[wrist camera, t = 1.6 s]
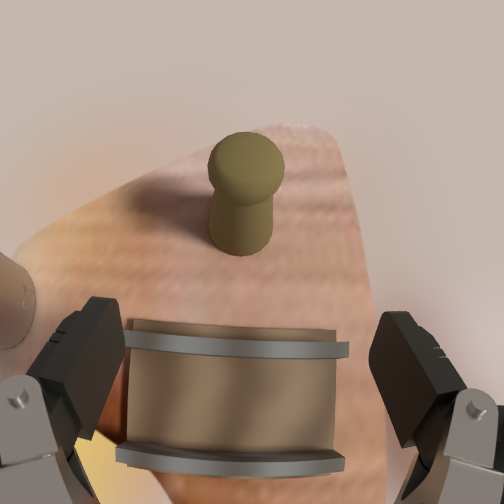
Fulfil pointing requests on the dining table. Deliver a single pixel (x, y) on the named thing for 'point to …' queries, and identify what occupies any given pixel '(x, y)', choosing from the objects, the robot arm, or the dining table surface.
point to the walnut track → (231, 401)
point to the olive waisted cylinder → (243, 192)
